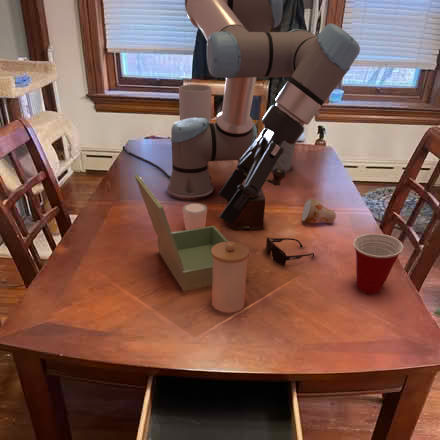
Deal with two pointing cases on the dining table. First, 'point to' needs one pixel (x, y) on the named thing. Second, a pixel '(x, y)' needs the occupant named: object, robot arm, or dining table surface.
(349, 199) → the dining table surface
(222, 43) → the robot arm
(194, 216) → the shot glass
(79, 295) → the dining table surface
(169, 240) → the box lid
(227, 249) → the canister
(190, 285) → the box
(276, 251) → the sunglasses
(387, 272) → the plastic cup
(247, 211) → the brown manual coffee grinder
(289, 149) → the grey pot
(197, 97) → the cylinder vase
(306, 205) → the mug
